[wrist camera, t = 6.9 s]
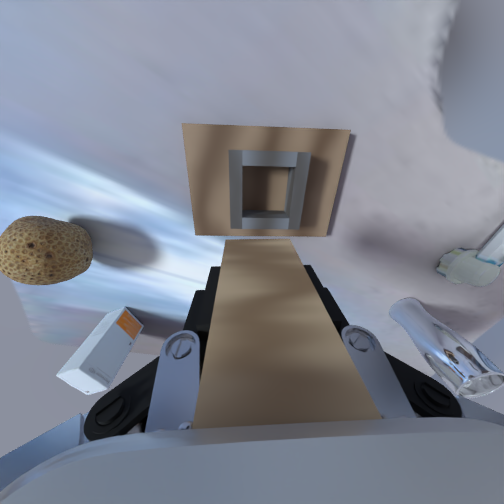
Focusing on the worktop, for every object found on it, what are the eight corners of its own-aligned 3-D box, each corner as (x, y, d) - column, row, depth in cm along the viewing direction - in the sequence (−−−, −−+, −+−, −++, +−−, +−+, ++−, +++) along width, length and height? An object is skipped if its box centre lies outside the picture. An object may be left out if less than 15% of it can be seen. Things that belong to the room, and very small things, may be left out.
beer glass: (395, 294, 38) (476, 372, 25) (427, 296, 39) (522, 373, 26) (380, 319, 41) (445, 399, 28) (410, 320, 42) (486, 399, 29)
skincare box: (145, 325, 39) (109, 390, 29) (128, 331, 40) (86, 396, 29) (125, 305, 36) (78, 368, 26) (107, 311, 37) (53, 376, 27)
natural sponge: (110, 267, 32) (61, 311, 24) (50, 252, 30) (-28, 293, 22) (112, 219, 28) (54, 250, 20) (43, 198, 27) (-55, 222, 18)
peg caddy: (344, 131, 24) (367, 127, 20) (322, 232, 31) (335, 246, 26) (185, 124, 23) (171, 119, 19) (197, 231, 30) (189, 245, 25)
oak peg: (289, 238, 12) (418, 488, 3) (283, 288, 14) (354, 528, 5) (225, 239, 12) (177, 505, 3) (229, 289, 14) (205, 541, 5)
